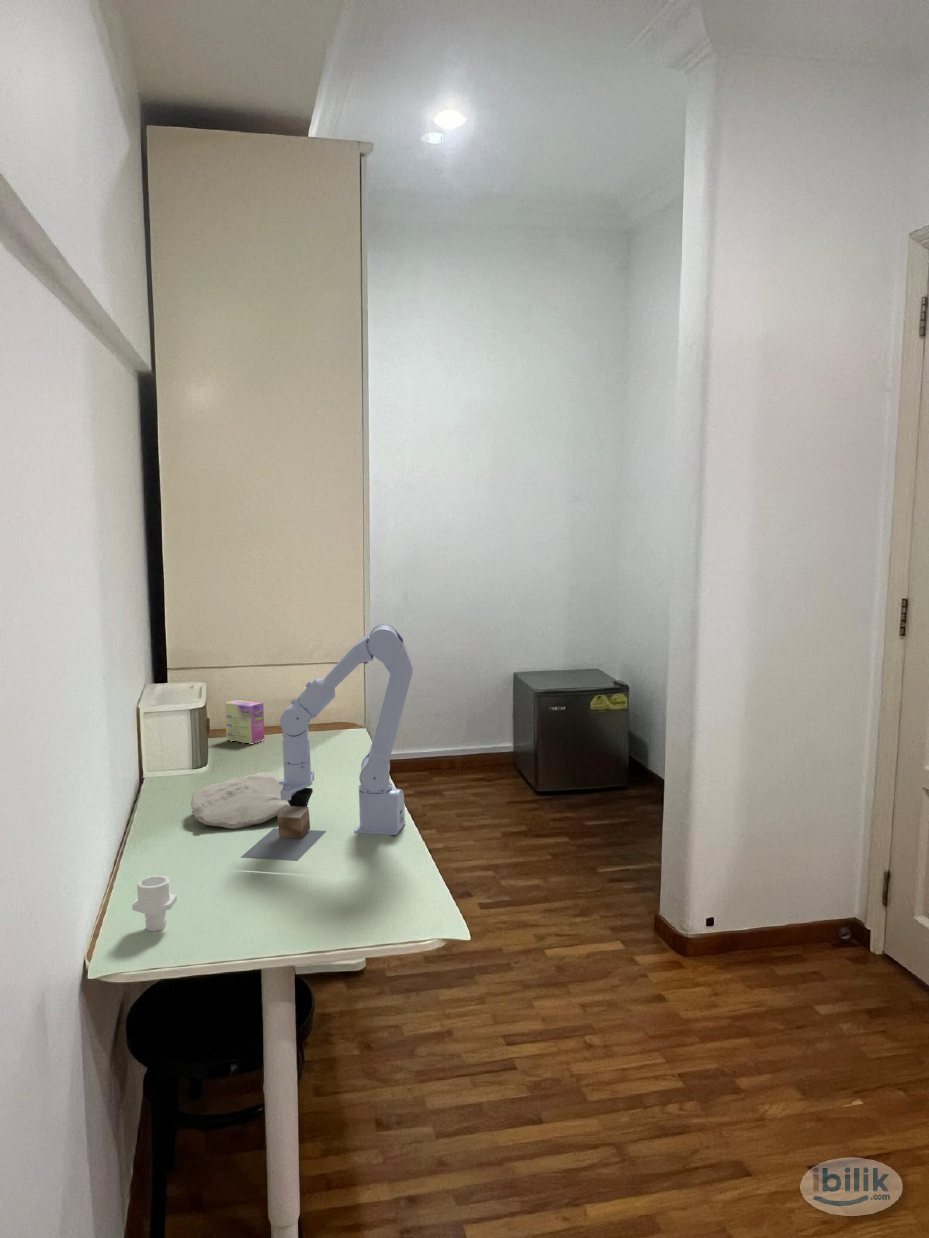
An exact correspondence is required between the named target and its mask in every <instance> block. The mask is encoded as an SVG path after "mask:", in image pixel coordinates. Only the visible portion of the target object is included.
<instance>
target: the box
mask: <svg viewBox="0 0 929 1238" xmlns="http://www.w3.org/2000/svg"><path fill="white" fill-rule="evenodd" d="M224 714H225V740H226V739H228V740H233V741H239V742H243V743H242V744H244V743H256V742H258V741H261V740H263V739H264V740H265V718H264V717H265V712H264V702H257V701H249V700H241V699H235V700H230V701H227V702H225V703H224Z"/></svg>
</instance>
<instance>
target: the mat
mask: <svg viewBox="0 0 929 1238" xmlns="http://www.w3.org/2000/svg"><path fill="white" fill-rule="evenodd" d="M325 833H327V830H316V829H312V830H311V829H310V830H309V831H308V832H307V833H306V835H305V836H304V837H303V838H302V839H290V838H279V828H276V827H275V828H272V829H271V830H270V831H269V832H267V834H266V835H264V836H263V837H262V838H261V839H259V840H258V841H257V842H256V843H255V844H254V845H253V846H252V847H251V848H249V849H248V850H247V851H246V852H245V853H244V854H242V856H240V858H244V859H258V860H259V859H261V860H278V861H279V860H280V861H293V862H294V861H295V862H298V861H299V860H300V859H301V858H302V857H303V856H304V855H305V854H306V853H307V852H308V851H309V850H310V849H311V848H312V846H314V844H316V843H317V841H319V840H320V838H321V837H323V835H325Z"/></svg>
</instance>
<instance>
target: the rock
mask: <svg viewBox="0 0 929 1238" xmlns="http://www.w3.org/2000/svg"><path fill="white" fill-rule="evenodd" d="M280 780H281V779H280V778H279V777H277V775H275V774H274V773H273V772H270V771H268V772H266V771H258V772H255V773H252V774H250V775H245V776H240V777H239V776H238V777H235V778H230V779H227V780H226V781H224V782H219V783H212V784H211V783H210V784H207V785H206V786H205V787H203V788H200V789H199V790H197V791H194V792H193V793H192V796H191V801H190V807H191V814H192V815H193V816H194V817H195V819H196V820H197V821H199V822H201V823H203V824H204V825H206V826H211V827H212V826H213V827H221V828H226V829H233V830H235V829H236V830H237V829H242V828H246V827H250V826H253V825H260V824H263V823H265V822H267V821H270V820H271V819H273V818H275V817H276V816H278V815H279V814H280V812H281V811H282V810H283V809H284V808H285V807H286V806H290V804H289V803H288V801H287V800H281V794H280V791H281V790H282V788H283V785H280V784H279V781H280Z"/></svg>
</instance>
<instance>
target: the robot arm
mask: <svg viewBox="0 0 929 1238" xmlns="http://www.w3.org/2000/svg"><path fill="white" fill-rule="evenodd" d="M374 658H376V659H377V660H378V661H380V662H381V663H383V665H384V667H385V669H386V670H387V671H388V673H389V678H388V682H387V685H386V688H385V689H386V690H385V693H384V697H383V700H382V704H381V707H380V711H379V715H378V720H377V723H376V727H375V730H374V734H373V738H372V741H371V745H370V749H369V751H368V754H366V756H365V757H363V759H362V762H361V765H360V769H361V770H360V773H359V776H358V777H359V778H358V779H359V783H360V785H358V797H359V798H358V803H359V805H358V806H359V824H358V825H357V826H356V827H355V829H354V830H353V832H354V833H355V834H372V835H373V834H374V835H391V836H395V835H396V836H397V835H398V833H399V832H400V831H401V829H402V828H403V827H404V826H405V825H406V820H405V819H406V817H405V816H406V815H405V814H406V813H405V795H404V794H405V793H404V791H403V789H401V788H394V787H393V783H392V782H391V781H390V771H391V763H390V760H391V756H392V751H393V747H394V743H395V740H396V735H397V733H398V729H399V725H400V722H401V721H400V720H401V717H402V712H403V711H404V710H403V709H404V705H405V702H406V698H407V695H408V690H409V688H410V683H411V680H412V676H413V672H414V671H413V669H414V667H413V664H412V660H411V657H410V655H409V653H408V650H407V647H406V644H405V641H404V638H403V636H402V635H401V634H400V633H399V632H398V630H397V629H396V628H395V627H394V626H393V625H391V624H387V623H381V624H378V625H376V626H375V627H374V628H373V629H372V630H371V631H370V633H369V632H368V633H366V634H365V635H364V636H362V638H360V639H359V640H358V641H357V642H356V643H354V645H353V646H352V647H351V648H349V650H348V651H347V652H346V654H345V655H343V656H342V657H341V659H340V660H339V661H338V662H337V663H336V664H335V666H334V667H333V668H332V669H331V670H330V671H329V672H328V673H327V675H326V676H325V677H320V678H319V677H318V678H317V677H316V678H315V679H314V680H309V681H308V682H306V684H305V687H306V688H305V689H304V690H303V691H302V692H301V693H300V694H299V695H298V696H297V698H295V697H294V698H292V699H291V701H290V705H288V706H287V707H286V708H285V709H284V711H283V713H282V715H281V716H280V722H279V725H280V727H281V730H282V760H283V761H282V762H283V763H282V764H283V778H282V779H280V781H279V784H280V785H283V788H282V790H281V791H280V794H281V800H287V801H288V803H289V804H290V806H298V807H308V805H309V802H310V798H311V796H312V794H313V792H314V790H313V788H312V787H311V786H312V785H313V782H314V780H315V771H312V769H311V764H312V763H311V744H310V743H311V740H310V738H309V725H310V722H311V720H313V719H316V718H317V717H318V715H320V714H321V712H322V711H323V710H324V709H325V708H326V707H327V706H328V705H330V703H331V702H332V701H333V700H334V699H335V697H336V688H337V687H338V686H339V685H340V684H341V683H342V682H343V681H344V680H345V679H346V678H347V677H348V676H349V675H350V674H351V673H352V672H353V671H354V670H355V669H356V668H357V667H358V666H359V665H361V664H363V663H367V662H368V663H369V662H371V661H373V660H374Z"/></svg>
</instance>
